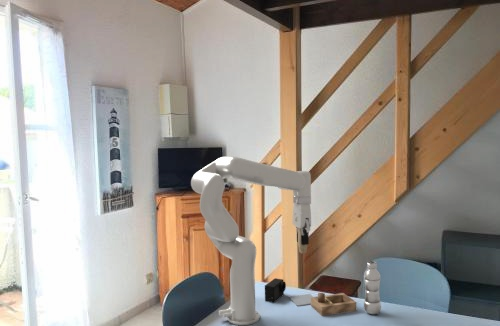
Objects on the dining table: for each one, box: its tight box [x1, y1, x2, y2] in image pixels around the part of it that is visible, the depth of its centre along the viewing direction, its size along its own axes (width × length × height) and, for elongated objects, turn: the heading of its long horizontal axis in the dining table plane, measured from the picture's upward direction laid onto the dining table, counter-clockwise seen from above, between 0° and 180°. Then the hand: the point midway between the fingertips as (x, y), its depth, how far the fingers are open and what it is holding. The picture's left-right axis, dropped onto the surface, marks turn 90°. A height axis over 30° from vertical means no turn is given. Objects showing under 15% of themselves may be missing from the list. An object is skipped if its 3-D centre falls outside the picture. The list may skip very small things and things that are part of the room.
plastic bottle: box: [363, 260, 382, 315], centre depth 157 cm, size 6×7×20 cm
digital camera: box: [264, 278, 287, 303], centre depth 175 cm, size 10×5×7 cm, turn 151°
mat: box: [288, 293, 314, 307], centre depth 172 cm, size 10×10×1 cm
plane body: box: [310, 292, 357, 317], centre depth 163 cm, size 15×10×6 cm
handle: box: [295, 218, 308, 254], centre depth 171 cm, size 5×6×15 cm
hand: (302, 242), depth 171 cm, fingers closed on handle, 4 cm apart
